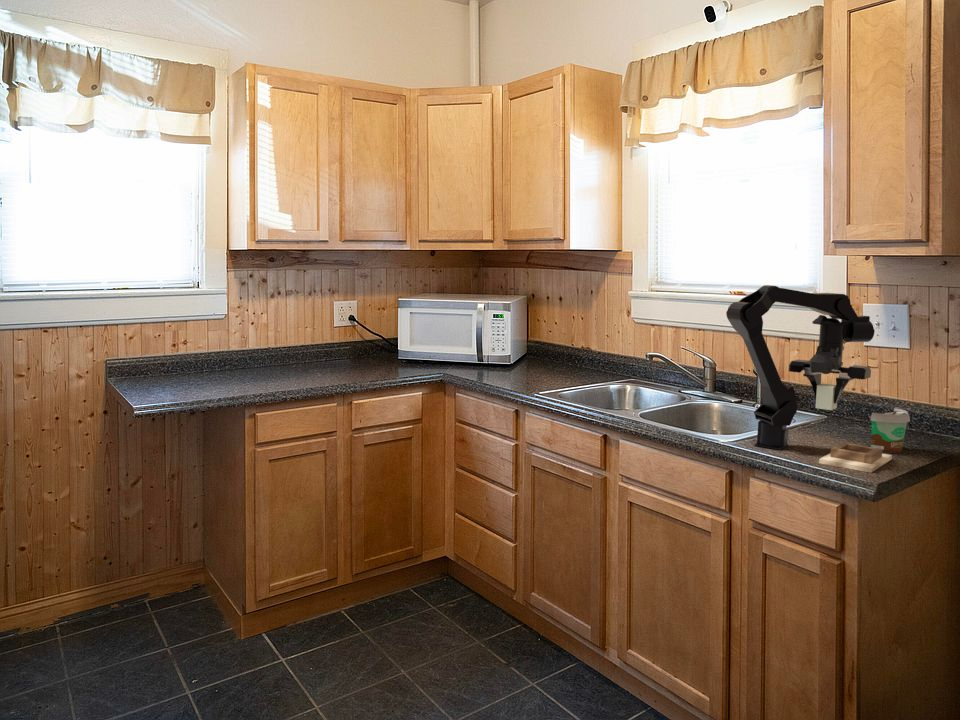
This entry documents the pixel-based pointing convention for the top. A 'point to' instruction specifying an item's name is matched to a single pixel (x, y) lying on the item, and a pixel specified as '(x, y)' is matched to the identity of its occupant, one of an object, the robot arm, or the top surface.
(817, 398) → the pale green block
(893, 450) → the food container
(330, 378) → the top surface
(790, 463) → the top surface
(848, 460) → the post base
